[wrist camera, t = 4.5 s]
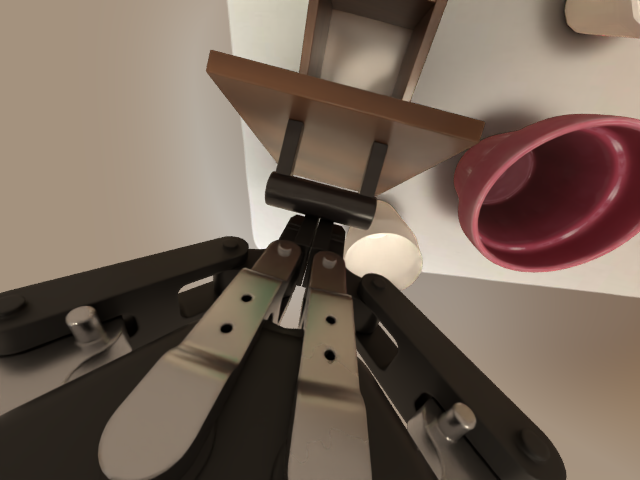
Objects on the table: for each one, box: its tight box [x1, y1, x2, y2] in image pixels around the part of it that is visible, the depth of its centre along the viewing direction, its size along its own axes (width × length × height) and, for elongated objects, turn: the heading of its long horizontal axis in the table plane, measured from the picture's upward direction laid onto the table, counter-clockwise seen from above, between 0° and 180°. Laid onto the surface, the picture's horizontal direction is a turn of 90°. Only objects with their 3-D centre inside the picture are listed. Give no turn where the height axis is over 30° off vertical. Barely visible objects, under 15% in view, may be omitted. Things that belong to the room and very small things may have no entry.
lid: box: [206, 50, 485, 230], centre depth 17 cm, size 16×10×5 cm
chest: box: [299, 0, 448, 102], centre depth 25 cm, size 16×10×9 cm, turn 167°
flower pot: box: [454, 114, 640, 272], centre depth 25 cm, size 14×14×13 cm
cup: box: [343, 200, 423, 291], centre depth 31 cm, size 9×9×12 cm
